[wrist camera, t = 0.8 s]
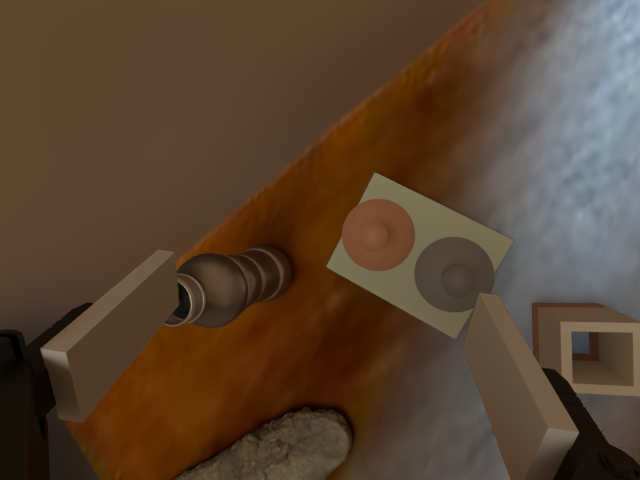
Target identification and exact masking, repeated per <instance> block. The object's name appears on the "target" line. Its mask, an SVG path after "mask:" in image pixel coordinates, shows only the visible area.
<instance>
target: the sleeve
mask: <svg viewBox="0 0 640 480" xmlns="http://www.w3.org/2000/svg"><path fill="white" fill-rule="evenodd" d="M532 325H533V355H534V357H535V358H536V360H537V362H538V363H539V365H540V367H542V368H549V369H555V370H556V371H557V372H558V373H559V374H560V375H561V376H562V377H564V378H565V379H566V380H567V381H568V382H569V384H570V385H571V387H572V388H573V390H574V391H575V393H585V394H603V395H621V396H639V397H640V321H638V320H636V319H633V318H631V317H628V316H626V315H624V314H621V313H619V312H617V311H614V310H612V309H609V308H607V307H605V306H602V305H600V304H577V303H532ZM571 331H576V332H589V341H590V354H572V337H571Z"/></svg>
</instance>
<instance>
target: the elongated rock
mask: <svg viewBox="0 0 640 480" xmlns="http://www.w3.org/2000/svg"><path fill="white" fill-rule="evenodd" d="M351 447H352V433H351V430H350V428H349V426H348V424H347V422H346V420H345V419H344V417H343V416H342V415H341V414H339V413H338V412H335V411H334V410H327V409H319V410H315V411H311V409H310V407H303V408H302V409H301V410H299V411H297V412H295V413H293V412H290V413H287V414H285V415H284V416H283V417H281V418H278V419H276V420H272V421H271V422H270V423H269V424H266V423H265V424H264V425H263V426H262V427H261V428H258V429H257V430H255V431H254V433H248V434H246V435H244V437H243V438H241V439H239V440H238V441H237V442H236V443H234V444H233V446H230V447H228V448H227V449H226V450H224V451H222V452H221V453H220V454H219V455H217V456H215V457H214V458H212V459H211V460H207V461H205V462H203V463H201V464H199V465H197V466H196V467H195V468H194V469H191V470H186V471H185V472H183V473H182V474H181V475H180V476H177V477H176V478H175V479H173V480H326V478H327V476H328V475H329V474H331V473H332V472H333V470H334V469H336V468H337V467H338V466H339V465H340V464H341V463H342V462H344V461H346V459H347V456H348V454H349V450H350V449H351Z"/></svg>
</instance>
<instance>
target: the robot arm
mask: <svg viewBox="0 0 640 480" xmlns="http://www.w3.org/2000/svg"><path fill="white" fill-rule="evenodd" d="M178 305H179V298H178V285H177V271H176V258H175V252H171V251H163V250H158V251H156V252H155V253H154V254H153V255H152V256H150V257H149V258H148V259H147V260H146V261H144V262H143V263H142V264H141V265H140V266H138V267H137V268H136V269H135V270H134V271H132V272H131V273H130V274H129V275H128V276H127V277H125V278H124V279H123V280H122V281H121V282H119V283H118V284H117V285H116V286H115V287H113V288H112V289H111V290H110V291H109V292H108V293H106V294H105V295H104V296H103V297H101V298H100V299H99V300H98V301H97V302H95V303H85V304H83V305H81V306H79V307H77V308H75V309H72V310H71V311H70V312H69V313H68V314H66V315H65V316H64V317H62V318H61V320H59V321H57V322H56V323H55V324H53V325H52V327H51V328H49V329H47V330H46V331H45V332H44V333H42V334H41V335H40V336H39V337H37V338H36V339H35V340H33V341H32V342H31V343H30V344H29V345H27V346H26V344H25V341H24V337H23V335H22V333H21V332H19V331H17V330H0V480H50V475H49V444H48V422H47V418H46V414H47V413H48V412H49V411H50V410H51V409H52V408H53V407H54V406H56V409H57V413H58V417H59V419H63V420H69V421H75V422H80V423H83V421H84V420H85V419H86V418H87V416H88V415H89V414H90V413H91V412H92V410H93V409H94V408H95V407H96V406H97V404H98V403H99V402H100V401H101V399H102V398H103V397H104V396H105V395H106V393H107V392H108V391H109V390H110V388H111V387H112V386H113V385H114V384H115V382H116V381H117V380H118V379H119V377H120V376H121V375H122V374H123V373H124V371H125V370H126V369H127V368H128V366H129V365H130V364H131V363H132V362H133V360H134V359H135V358H136V357H137V355H138V354H139V353H140V352H141V351H142V349H143V348H144V347H145V346H146V344H147V343H148V342H149V341H150V340H151V338H152V337H153V336H154V335H155V333H156V332H157V331H158V330H159V329H160V327H161V326H162V325H163V324H164V322H165V321H166V320H167V319H168V318H169V316H170V315H171V314H172V313H173V311H174V310H175V309H176V308H177V307H178ZM463 346H464V349H465V352H466V355H467V357H468V360H469V363H470V366H471V369H472V372H473V374H474V377H475V380H476V383H477V386H478V389H479V391H480V394H481V397H482V400H483V403H484V406H485V408H486V411H487V414H488V417H489V420H490V422H491V425H492V428H493V431H494V434H495V437H496V439H497V442H498V445H499V448H500V451H501V454H502V456H503V459H504V462H505V465H506V468H507V471H508V473H509V476H510V479H511V480H640V465H639V464H638V463H637V462H636V461H635V460H634V459H633V458H632V457H630V456H629V455H628V454H626V453H625V452H623V451H622V450H620V449H618V448H616V447H614V446H612V445H609V443H608V442H607V440H606V439H605V437H604V436H603V434H602V433H601V431H600V430H599V428H598V427H597V425H596V424H595V422H594V421H593V419H592V417H591V416H590V414H589V413H588V411H587V410H586V408H585V407H583V404H582V402H581V401H580V399H579V398H578V397H577V396H576V393H575V391H574V390H573V388H572V387H571V385H570V384H569V382H568V381H567V380H566V379H565V378H564V377H562V376H561V375H560V374H559V373H558V372H557V371H556V370H555V369H549V368H542V367H540V365H539V363H538V362H537V360H536V358H535V357H534V355H533V353H532V352H531V350H530V348H529V347H528V345H527V343H526V341H525V340H524V338H523V336H522V335H521V333H520V331H519V330H518V328H517V326H516V325H515V323H514V321H513V320H512V318H511V316H510V314H509V313H508V311H507V309H506V308H505V306H504V304H503V303H502V301H501V299H500V298H499V296H498V295H493V294H486V293H479V295H478V298H477V302H476V305H475V308H474V312H473V315H472V318H471V321H470V325H469V328H468V331H467V335H466V338H465V341H464V345H463Z"/></svg>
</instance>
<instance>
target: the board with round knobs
mask: <svg viewBox="0 0 640 480" xmlns="http://www.w3.org/2000/svg"><path fill="white" fill-rule="evenodd" d="M513 241H514V240H513V239H511V238H509V237H506V236H504V235H502V234H500V233H498V232H496V231H494V230H492V229H490V228H488V227H486V226H484V225H482V224H480V223H478V222H476V221H474V220H472V219H470V218H468V217H466V216H464V215H461V214H459V213H457V212H455V211H453V210H451V209H449V208H447V207H445V206H443V205H441V204H439V203H437V202H435V201H433V200H431V199H429V198H427V197H425V196H423V195H421V194H419V193H416V192H414V191H412V190H410V189H408V188H406V187H404V186H402V185H400V184H398V183H396V182H394V181H392V180H390V179H388V178H386V177H384V176H382V175H380V174H378V173H376V172H375V173H374V175H373V177H372V179H371V181H370V183H369V185H368V187H367V189H366V191H365V193H364V195H363V196H362V198H361V200H360V202H359V204H358V205H357V206H356V207H355V208H354V209H352V210H351V212H350V213H349V214H348V216H347V217H346V219H345V222H344V224H343V228H342V237H341V239H340V241H339V243H338V245H337V247H336V249H335V251H334V252H333V254H332V256H331V258H330V260H329V262H328V264H327V266H326V267H327V268H329V269H331V270H332V271H334V272H336V273H338V274H339V275H341V276H343V277H345V278H347V279H348V280H350V281H352V282H354V283H356V284H357V285H359V286H361V287H363V288H364V289H366V290H368V291H370V292H372V293H373V294H375V295H377V296H379V297H381V298H382V299H384V300H386V301H388V302H389V303H391V304H393V305H395V306H397V307H398V308H400V309H402V310H404V311H406V312H407V313H409V314H411V315H413V316H414V317H416V318H418V319H420V320H422V321H423V322H425V323H427V324H429V325H431V326H432V327H434V328H436V329H438V330H439V331H441V332H443V333H445V334H447V335H448V336H450V337H452V338H454V339H456V338H457V336H458V335H459V333H460V331H461V329H462V328H463V326H464V324H465V323H466V321H467V319H468V318H469V316H470V314H471V313H472V311H473V309H474V308H475V305H476V302H477V298H478V295H479V293H486V294H489V293H490V291H491V289H492V286H493V282H494V274H495V272H496V270H497V269H498V267H499V265H500V263H501V262H502V260H503V258H504V257H505V255H506V253H507V252H508V250H509V248H510V247H511V245H512V243H513Z"/></svg>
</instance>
